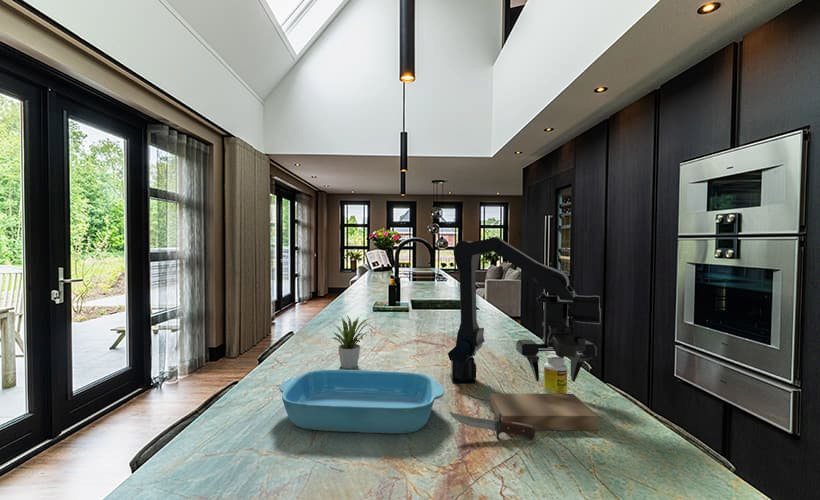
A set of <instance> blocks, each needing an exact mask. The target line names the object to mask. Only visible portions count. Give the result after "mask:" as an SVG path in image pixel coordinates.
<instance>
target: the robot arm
mask: <svg viewBox="0 0 820 500" xmlns="http://www.w3.org/2000/svg"><path fill="white" fill-rule="evenodd" d="M452 251H453V256H454V263H455V265H456V268H457V270H458V274H459V301H460V302H459V303H460V325H459V328H458V331H457V334H456V341H455V346H453V348H452V349H451V350H450V351H449V352H447V356H448V358H449V361H450V374H449V376H450V380H451V382H452V383H453V384H476V379H477V364H476V361H475V358H474V357H475V356H476V355H477V352H478V351H479V350H480V349H482V347H483V343H485V341H486V339H485V337H484V335H485V333H484V332H485V327H480V326H479V323H478V318H477V315H478V312H477V285H476V283H477V282H476V278H477V277H476V273H477V272H476V271H477V269H478V265H479V261H480V256H482V255H486V254H490V253H495V254H496V255H498V256H499V257H502V258H503V259H504V260H505V261H508V262H509V263H510V264H512V265H514V266H515V267H517V268H519V269H520V270H521V271H523V272H524V273H526V274H528V275H529V276H530V277H531V278H532V279H533V280H534V281H535V282H536V283H537V284H538V286H540V287H541V288H542V289H544V291H543V292H541V294H540V296H539V297H537V298H536V299H535V301H536V302H538V303H543V321H542V323H541V327H543V337H541V339H542V340H541V341H542V343H536V341H534V340H533V339H518V340H517V341H516V343H515V348H516V349H515V350H516V351H517V352H518V353H519V354H520V355H521V356H524V357H525V358H526V359H527V360H528V363H529V365H530V368H531V371H532V373H533V377H534V379H535V382H537V383H539V381H540V372H539V371H540V370H539V361H540V360H539V359H540V357H539V355H538V353H539V352H555V355H557V356H558V357H564V358H565V357H569V358H570V377H571V379H570V380H571V381H572V382H573V383H574V382H576V380H577V377H578V375H579V373H580V370H581V368H582V366H583V364H584V363H585V362H586V361H587V360H592V357H596V356H597V355H598V353H597V351H598V348H597V346H596V345H595V343H592V342H591V341H589V340H587V339H586V338H585V336H584V335H572V333H571V326H570V325H569V322H568V321H569V316H570V318H571V319H572V320H574V322H575V323H583V324H594V325H601V319H602V318H601V317H602V316H601V315H602V312H601V311H602V310H601V307H600V306H601V303H600V301H601V300H600V299H601V297H600V296H599V295H578V294H577V293H576V290H574V289H573V288H572V286H571V285H570V279H569V276H568V275H567V274H566V273H565V272H564V271H562V270H559V269H556V268H554V267H551V266H548V265H545V264H543V263H540V262H539V261H537V260H535V259H534V258H532V257H530V256H528V255H527V254H525V253H524V252H523V251H521V250H519V249H517V248H516V247H514V246H513V245H511V244H510V243H508V242H506V241H505V240H504V239H503V238H501V237H500V236H499V237H497V236H492V237H489V238H485V239H480V240H475V241H472V240H461V241H459V242H457V243H456V244H455V245H454V247H453V250H452ZM546 292H547V293H546ZM548 294H549V295H548ZM560 298H561V299H560ZM569 306H570V307H569Z"/></svg>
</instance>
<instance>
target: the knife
mask: <svg viewBox="0 0 820 500" xmlns="http://www.w3.org/2000/svg"><path fill="white" fill-rule="evenodd" d="M448 413H449V414H450V417H452V418H453V419H454V420H456V421H457V422H459V423H461V424H463V425H466V426H469V427H473V428H477V429H478V428H479V429H482V430H491V431H495V436H496V439H500V437H499V435H500V434H503V433H504V434H507V435H512V434H513V435H515V436H522V437H525V438H527V439H529V440H533V439H534V438H535V435H536V430H535V429H534V427H533V426H532V425H529V424H524V423H518V422H511V421H503V420H501V417H502V415H501V414H498V417H497V418H496V419H491V418H490V419H489V418H483V417H476V416H470V415H469V416H467V415H463V414H459V413H454V412H451V411H448Z"/></svg>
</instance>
